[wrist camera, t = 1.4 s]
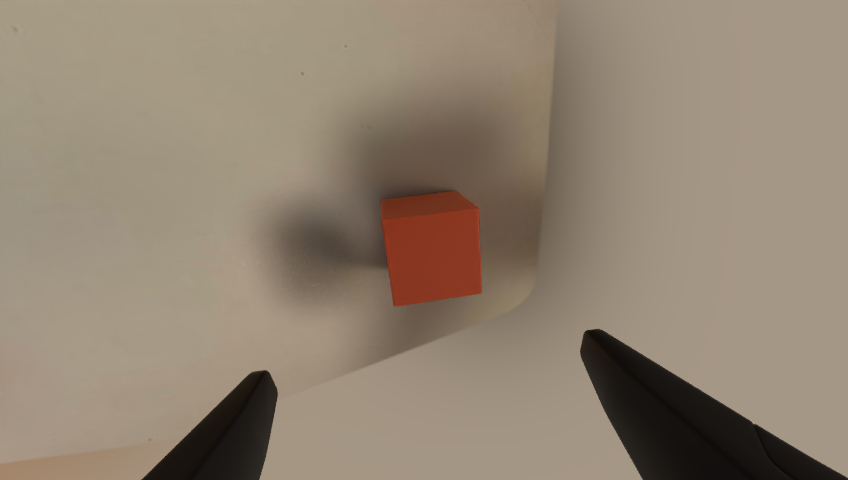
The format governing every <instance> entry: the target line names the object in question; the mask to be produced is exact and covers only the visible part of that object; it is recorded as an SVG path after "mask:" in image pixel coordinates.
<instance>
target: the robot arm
mask: <svg viewBox="0 0 848 480" xmlns="http://www.w3.org/2000/svg"><path fill="white" fill-rule="evenodd" d="M580 354H581V358H582V361H583V363H584V365H585V367H586V370H587V372H588V374H589V377H590V379H591V381H592V384H593V386H594V388H595V390H596V393H597V395H598V397H599V400H600V402H601V404H602V406H603V408H604V410H605V412H606V414H607V416H608V418H609V420H610V422H611V423H612V425H613V427H614V429H615V431H616V433H617V434H618V436H619V438H620V440H621V441H622V443H623V445H624V447H625V449H626V450H627V452H628V454H629V455H630V458H631V459H632V461H633V463H634V465H635V467H636V468H637V470H638V472H639V474H640V475H641V477H642V479H643V480H848V478H847V477H845V476H843V475H842V474H840V473H838V472H836V471H834V470H832V469H831V468H829V467H827V466H826V465H824V464H822V463H820V462H818V461H817V460H815V459H813V458H811V457H810V456H808V455H806V454H805V453H803V452H801V451H800V450H798V449H796V448H794V447H793V446H791V445H789V444H788V443H786V442H784V441H783V440H781V439H779V438H778V437H776V436H774V435H773V434H771V433H769V432H768V431H766V430H765V429H763V428H761V427H760V426H758V425H756V424H753V423H752V422H751V421H750V420H748V419H746V418H745V417H743V416H742V415H740V414H738V413H737V412H735V411H733V410H732V409H730V408H729V407H727V406H725V405H724V404H722V403H720V402H719V401H717V400H715V399H714V398H712V397H711V396H709V395H707V394H706V393H704V392H702V391H701V390H699V389H698V388H696V387H694V386H693V385H691V384H689V383H688V382H686V381H684V380H683V379H681V378H680V377H678V376H676V375H675V374H673V373H671V372H670V371H668V370H666V369H665V368H663V367H662V366H660V365H658V364H657V363H655V362H653V361H652V360H650V359H649V358H647V357H645V356H644V355H642V354H640V353H639V352H637V351H636V350H634V349H632V348H631V347H629V346H627V345H625V344H624V343H622V342H621V341H619V340H618V339H616V338H614V337H613V336H611V335H609V334H608V333H606V332H605V331H603V330H600V329H594V330H587V331H585V332H584V335H583V340H582V345H581V349H580ZM277 396H278V392H277V388H276V386H275V384H274V381H273V379H272V377H271V375H270V373H269V372H268V371H267V370H263V371H255V372H252V373H250V374H249V375H248V376H247V377H246V378H245V379H244V380H243V381H242V382H241V383H240V384H239V385H238V386H237V387H236V388H235V389H234V390H233V391H232V392H231V393H229V394H228V395H227V396H226V397H225V398H224V399H223V400H222V401H221V402H220V403H219V404H218V405H217V406H216V407H215V408H214V409H213V410H212V411H211V412H210V413H209V414H208V415H207V416H206V417H205V418H204V419H203V420H202V421H201V422H200V423H199V424H198V425H197V426H196V427H195V428H194V429H193V430H192V431H191V432H190V433H189V434H188V435H187V436H186V437H185V438H184V439H183V440H182V441H181V442H180V443H179V444H177V445H176V446H175V448H174V449H172V450H171V451H170V452H169V453H168V454H167V455H166V456H165V457H164V458H163V459H162V460H161V461H160V462H159V463H158V464H157V465H156V466H155V467H154V468H153V469H152V470H151V471H150V472H149V473H148V474H147V475H146V476H145V477H144V478H143V479H142V480H259V479H260V475H261V472H262V468H263V465H264V461H265V457H266V453H267V449H268V443H269V439H270V433H271V428H272V423H273V418H274V413H275V407H276V402H277Z"/></svg>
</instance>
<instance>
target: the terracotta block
mask: <svg viewBox="0 0 848 480" xmlns="http://www.w3.org/2000/svg"><path fill="white" fill-rule="evenodd" d="M381 222H382V229H383V236H384V243H385V250H386V257H387V263H388V270H389V277H390V284H391V291H392V298H393V305H394V306H402V305H408V304H415V303H421V302H428V301H434V300H441V299H447V298H454V297H460V296H467V295H473V294H480V293H482V284H481V256H480V229H479V208H478V207H477V206H475V205H474V204H473V203H472V202H470V201H469V200H468V199H466V198H465V197H464V196H462V195H461V194H460V193H459V192H457V191H449V192H440V193H432V194H424V195H416V196H407V197H399V198H391V199H382V200H381Z"/></svg>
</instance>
